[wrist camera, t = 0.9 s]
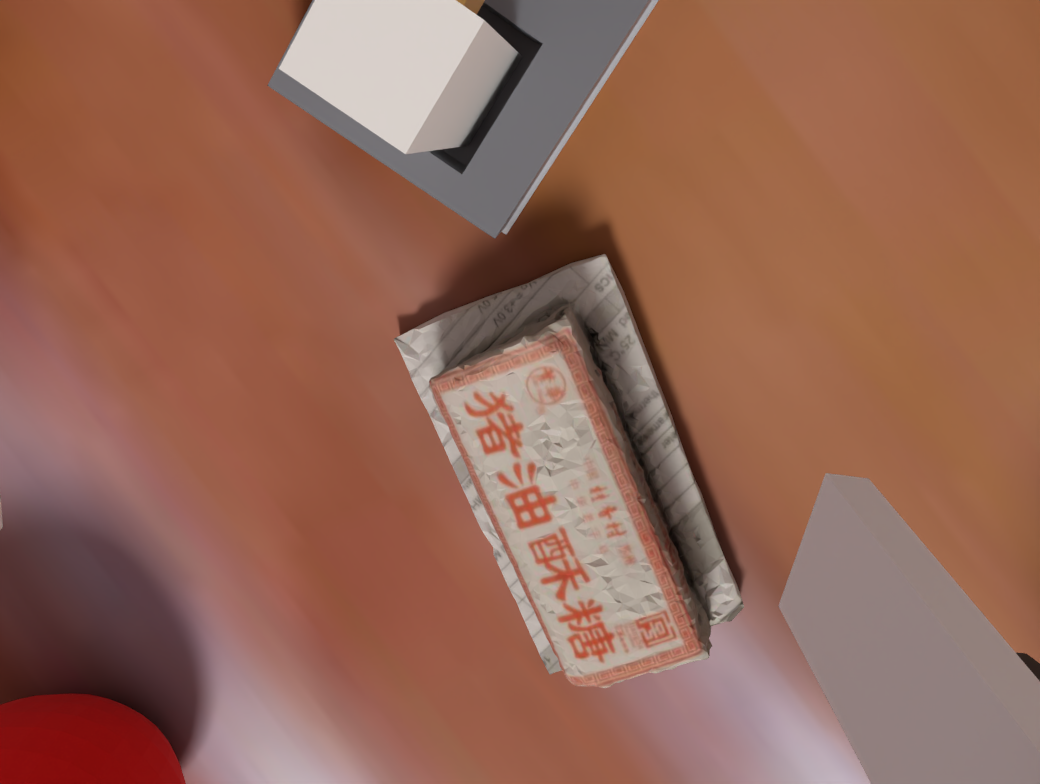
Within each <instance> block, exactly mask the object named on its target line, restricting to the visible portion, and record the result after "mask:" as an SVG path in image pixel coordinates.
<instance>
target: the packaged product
mask: <svg viewBox="0 0 1040 784" xmlns="http://www.w3.org/2000/svg"><path fill="white" fill-rule="evenodd" d="M394 341H395V343H396V345H397V346H398V348H399V350H400V353H401V355H402V357H403V359H404V361H405V363H406V366H407V368H408V370H409V373H410V376H411V379H412V381H413V383H414V385H415V387H416V389H417V392H418V394H419V396H420V398H421V400H422V402H423V404H424V405H425V407H426V409H427V410H428V413H429V415H430V417H431V420H432V422H433V424H434V426H435V429H436V431H437V433H438V435H439V438H440V440H441V442H442V444H443V446H444V449H445V451H446V453H447V455H448V457H449V460H450V462H451V464H452V466H453V468H454V471H455V473H456V475H457V477H458V479H459V482H460V484H461V486H462V488H463V490H464V492H465V494H466V496H467V498H468V500H469V503H470V505H471V508H472V510H473V513H474V515H475V517H476V519H477V521H478V523H479V525H480V527H481V529H482V531H483V533H484V534H485V536H486V537H487V539H488V540H489V542H490V543H491V545H492V546H493V549H494V556H495V558H496V560H497V563H498V565H499V567H500V569H501V571H502V574H503V576H504V578H505V581H506V583H507V585H508V587H509V589H510V591H511V593H512V595H513V597H514V598H515V600H516V602H517V604H518V607H519V609H520V612H521V614H522V616H523V619H524V621H525V623H526V625H527V628H528V630H529V632H530V634H531V636H532V638H533V640H534V642H535V644H536V647H537V649H538V652H539V654H540V656H541V658H542V660H543V662H544V664H545V666H546V668H547V670H548V672H549V674H552V673H554V672H557V671H561V670H563V672H564V674H565V676H566V678H567V679H568V680H569V681H570V682H571V683H572V684H574V685H576V686H597V687H602V688H607V687H610V686H612V685H613V684H615V683H620V682H622V681H624V680H628V679H631V678H634V677H637V676H639V675H642V674H646V673H649V672H651V673H658V672H661V671H664V670H667V669H674V668H676V667H677V666H678V665H682V664H686V663H690V662H693V661H699V660H705V659H707V658H709V649H710V648H711V647H712V645H711V643H710V640H709V637H710V634H711V626H713V625H716V624H719V623H723V622H726V621H732V620H733V619H734V618H735V616H736V615H737V614H738V613H739V612H740V611H741V610H742V609H743V608H744V605H743V602H742V599H741V595H740V592H739V589H738V586H737V584H736V581H735V579H734V577H733V575H732V572H731V570H730V568H729V566H728V564H727V561H726V559H725V557H724V555H723V552H722V550H721V547H720V544H719V541H718V538H717V536H716V533H715V530H714V527H713V524H712V522H711V519H710V516H709V513H708V510H707V508H706V505H705V502H704V499H703V496H702V494H701V491H700V489H699V487H698V485H697V483H696V481H695V479H694V476H693V474H692V471H691V468H690V466H689V463H688V460H687V458H686V455H685V452H684V449H683V447H682V444H681V441H680V438H679V435H678V432H677V430H676V427H675V424H674V421H673V418H672V415H671V412H670V410H669V407H668V405H667V402H666V400H665V397H664V395H663V392H662V390H661V387H660V385H659V383H658V380H657V377H656V375H655V372H654V369H653V367H652V364H651V361H650V359H649V356H648V353H647V351H646V348H645V346H644V343H643V340H642V338H641V335H640V333H639V330H638V327H637V325H636V322H635V320H634V317H633V314H632V312H631V309H630V307H629V304H628V301H627V299H626V296H625V294H624V291H623V289H622V287H621V285H620V283H619V281H618V279H617V277H616V275H615V273H614V271H613V269H612V266H611V264H610V262H609V260H608V258H607V256H606V254H603V255H599V256H595V257H592V258H588V259H584V260H581V261H577V262H573V263H570V264H568V265H566V266H564V267H561V268H559V269H557V270H555V271H553V272H551V273H548V274H546V275H544V276H542V277H540V278H537V279H535V280H533V281H531V282H529V283H527V284H523V285H520V286H517V287H514V288H511V289H508V290H505V291H502V292H499V293H496V294H493V295H491V296H488V297H485V298H483V299H480V300H477V301H475V302H472V303H469V304H467V305H464V306H461V307H459V308H456V309H454V310H451V311H448V312H446V313H443V314H441V315H439V316H437V317H435V318H433V319H431V320H429V321H427V322H425V323H423V324H421V325H419V326H418V327H416V328H414V329H412V330H410V331H408V332H406V333H404V334H402V335H400V336H398V337H396V338H395V339H394Z"/></svg>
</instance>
